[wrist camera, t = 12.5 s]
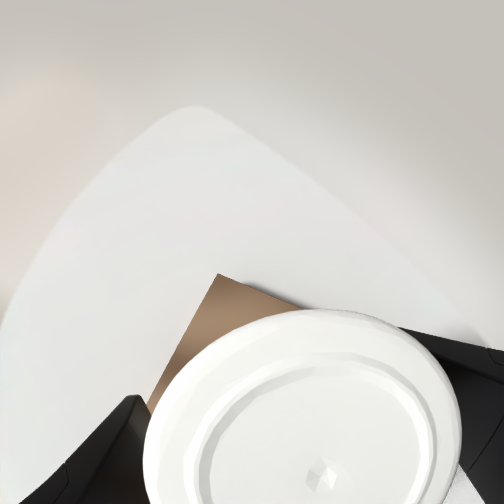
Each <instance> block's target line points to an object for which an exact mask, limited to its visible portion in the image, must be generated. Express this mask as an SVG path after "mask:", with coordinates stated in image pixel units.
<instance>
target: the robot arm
mask: <svg viewBox="0 0 504 504" xmlns="http://www.w3.org/2000/svg"><path fill="white" fill-rule="evenodd" d="M398 328H399V329H401V330H403V331H404V332H406V333H407V334H409V335H410V336H412V337H413V338H415V339H416V340H417V341H418V342H419V343H421V344H422V345H423V346H424V347H425V348H426V349H427V350H428V351H429V352H430V353H431V354H432V355H433V356H434V358H435V359H436V360H437V361H438V362H439V364H440V365H441V367H442V368H443V370H444V371H445V373H446V375H447V376H448V378H449V381H450V383H451V385H452V387H453V390H454V393H455V395H456V399H457V402H458V406H459V409H460V416H461V425H462V444H461V452H460V458H459V462H458V463H459V465H460V466H461V468H462V469H463V471H464V472H465V473H466V475H467V477H468V478H469V480H470V481H471V483H472V484H473V486H474V487H475V489H476V490H477V492H478V493H479V495H480V496H481V498H482V499H483V501H484V502H485V504H504V351H501V350H496V349H491V348H485V347H481V346H477V345H472V344H468V343H463V342H459V341H455V340H450V339H446V338H442V337H437V336H433V335H429V334H425V333H421V332H417V331H412V330H408V329H404V328H400V327H398ZM150 420H151V413H150V411H149V409H148V408H147V406H146V404H145V402H144V401H143V399H142V397H141V396H140V395H129V396H126V397H125V398H124V399H123V401H122V402H121V403H120V404H119V405H118V406H117V407H116V408H115V409H114V410H113V411H112V412H111V413H110V414H109V416H108V417H107V418H106V419H105V420H104V421H103V422H102V423H101V424H100V425H99V426H98V427H97V428H96V429H95V430H94V431H93V433H92V434H91V435H90V436H89V437H88V438H87V439H86V440H85V441H84V442H83V443H82V444H81V445H80V446H79V447H78V448H77V450H76V451H75V452H74V453H73V454H72V455H71V456H70V457H69V458H68V459H67V460H66V461H65V463H63V464H62V465H61V466H60V467H59V468H58V469H57V471H55V472H54V473H53V474H52V475H51V476H50V477H49V478H48V479H47V480H46V481H45V482H44V483H43V484H42V485H41V486H40V487H38V488H37V489H36V490H35V491H34V492H32V493H31V494H30V495H29V496H28V497H26V498H25V499H24V500H23V501H22V502H20V503H19V504H151V503H150V500H149V497H148V494H147V491H146V486H145V481H144V472H143V453H144V443H145V437H146V432H147V429H148V426H149V422H150Z"/></svg>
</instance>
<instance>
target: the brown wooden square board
mask: <svg viewBox="0 0 504 504" xmlns="http://www.w3.org/2000/svg"><path fill="white" fill-rule="evenodd" d="M297 310H304V309H302V308H299V307H297V306H294V305H292V304H289V303H287V302H284V301H282V300H280V299H277V298H275V297H272V296H270V295H268V294H265V293H263V292H260V291H258V290H256V289H253V288H251V287H249V286H246V285H244V284H241V283H239V282H237V281H234V280H232V279H230V278H227V277H225V276H223V275H221V274H217V276H216V278H215V279H214V281H213V283H212V285H211V286H210V288H209V290H208V292H207V294H206V295H205V297H204V299H203V301H202V303H201V304H200V306H199V308H198V310H197V312H196V313H195V315H194V317H193V319H192V321H191V323H190V324H189V326H188V328H187V330H186V332H185V333H184V335H183V337H182V339H181V341H180V343H179V345H178V346H177V348H176V350H175V352H174V354H173V356H172V357H171V359H170V361H169V363H168V365H167V367H166V369H165V370H164V372H163V374H162V376H161V378H160V380H159V382H158V384H157V385H156V387H155V389H154V391H153V393H152V395H151V397H150V399H149V401H148V402H147V404H146V406H147V408H148V409H149V411H150V413H151V417H152V415H153V412H154V410H155V408H156V406H157V404H158V402H159V400H160V399H161V397H162V395H163V394H164V392H165V390H166V389H167V387H168V386H169V384H170V383H171V382H172V380H173V379H174V378H175V376H176V375H177V374H178V373H179V372H180V371H181V370H182V368H183V367H184V366H185V365H186V364H187V363H188V362H189V361H190V360H192V359H193V358H194V357H195V356H196V355H197V354H199V353H200V352H201V351H202V350H203V349H205V348H206V347H207V346H208V345H210V344H211V343H213V342H214V341H216V340H217V339H219V338H220V337H222V336H224V335H226V334H227V333H229V332H231V331H233V330H235V329H237V328H239V327H242V326H244V325H246V324H249V323H251V322H253V321H256V320H259V319H262V318H265V317H268V316H272V315H276V314H281V313H285V312H289V311H297Z"/></svg>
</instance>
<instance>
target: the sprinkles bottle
mask: <svg viewBox="0 0 504 504" xmlns="http://www.w3.org/2000/svg"><path fill="white" fill-rule="evenodd" d="M461 444H462V425H461V416H460V409H459V406H458V402H457V399H456V395H455V393H454V390H453V387H452V385H451V383H450V381H449V378H448V376H447V375H446V373H445V371H444V370H443V368H442V367H441V365H440V364H439V362H438V361H437V360H436V359H435V358H434V356H433V355H432V354H431V353H430V352H429V351H428V350H427V349H426V348H425V347H424V346H423V345H422V344H421V343H419V342H418V341H417V340H416V339H415V338H413V337H412V336H410V335H409V334H407V333H406V332H404V331H403V330H401V329H399V328H398V327H396V326H394V325H392V324H390V323H387V322H385V321H382V320H380V319H378V318H375V317H372V316H369V315H365V314H361V313H358V312H354V311H347V310H331V309H311V310H297V311H289V312H285V313H281V314H276V315H272V316H268V317H265V318H262V319H259V320H256V321H253V322H251V323H249V324H246V325H244V326H242V327H239V328H237V329H235V330H233V331H231V332H229V333H227V334H226V335H224V336H222V337H220V338H219V339H217V340H216V341H214V342H213V343H211V344H210V345H208V346H207V347H206V348H205V349H203V350H202V351H201V352H200V353H199V354H197V355H196V356H195V357H194V358H193V359H192V360H190V361H189V362H188V363H187V364H186V365H185V366H184V367H183V368H182V370H181V371H180V372H179V373H178V374H177V375H176V376H175V378H174V379H173V380H172V382H171V383H170V384H169V386H168V387H167V389H166V390H165V392H164V394H163V395H162V397H161V399H160V400H159V402H158V404H157V406H156V408H155V410H154V412H153V415H152V417H151V420H150V422H149V426H148V429H147V432H146V437H145V443H144V453H143V472H144V481H145V486H146V491H147V494H148V497H149V500H150V503H151V504H442V503H443V501H444V500H445V498H446V495H447V493H448V491H449V489H450V487H451V484H452V482H453V479H454V476H455V474H456V470H457V467H458V462H459V458H460V452H461Z"/></svg>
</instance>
